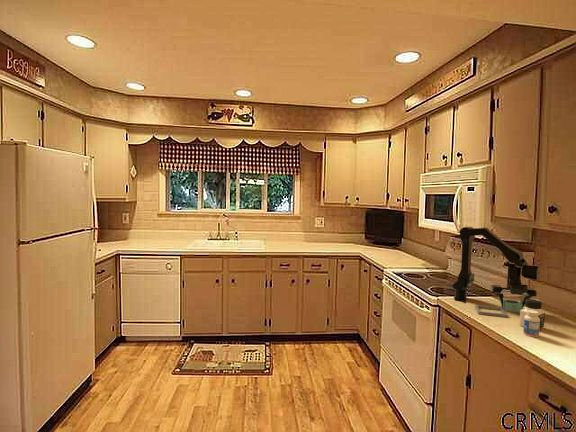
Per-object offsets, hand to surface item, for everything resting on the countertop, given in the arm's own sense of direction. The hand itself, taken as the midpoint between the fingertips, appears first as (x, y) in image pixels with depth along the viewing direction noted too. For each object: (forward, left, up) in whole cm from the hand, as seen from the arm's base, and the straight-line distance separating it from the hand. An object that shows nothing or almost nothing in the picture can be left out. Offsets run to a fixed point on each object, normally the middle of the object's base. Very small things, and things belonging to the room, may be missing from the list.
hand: (512, 307), depth 184 cm
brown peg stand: (0, 0, -2) cm, 2 cm away
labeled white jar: (+22, +3, -2) cm, 22 cm away
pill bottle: (+33, 0, -2) cm, 33 cm away
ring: (0, 0, -1) cm, 1 cm away
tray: (+9, -11, -2) cm, 14 cm away
